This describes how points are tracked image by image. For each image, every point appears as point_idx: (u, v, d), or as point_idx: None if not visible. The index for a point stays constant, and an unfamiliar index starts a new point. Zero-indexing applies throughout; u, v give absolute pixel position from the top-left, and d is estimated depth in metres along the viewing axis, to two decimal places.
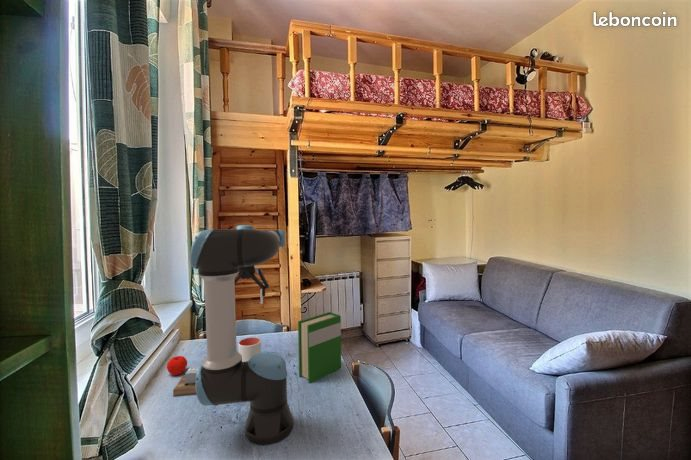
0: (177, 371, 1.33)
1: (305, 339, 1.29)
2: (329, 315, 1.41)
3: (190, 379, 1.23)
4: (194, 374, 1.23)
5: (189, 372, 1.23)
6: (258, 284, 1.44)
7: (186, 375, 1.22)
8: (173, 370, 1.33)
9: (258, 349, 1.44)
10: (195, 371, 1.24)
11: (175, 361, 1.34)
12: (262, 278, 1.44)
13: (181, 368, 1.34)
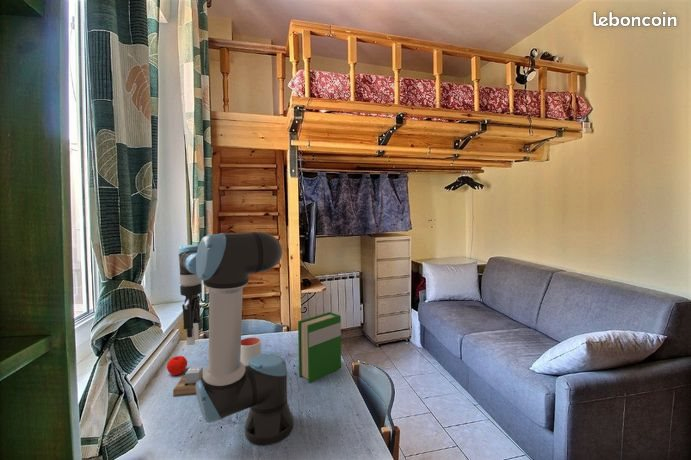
0: (177, 371, 1.33)
1: (305, 339, 1.29)
2: (329, 315, 1.41)
3: (190, 379, 1.23)
4: (194, 374, 1.23)
5: (189, 372, 1.23)
6: None
7: (186, 375, 1.22)
8: (173, 370, 1.33)
9: (258, 349, 1.44)
10: (195, 371, 1.24)
11: (175, 361, 1.34)
12: None
13: (181, 368, 1.34)
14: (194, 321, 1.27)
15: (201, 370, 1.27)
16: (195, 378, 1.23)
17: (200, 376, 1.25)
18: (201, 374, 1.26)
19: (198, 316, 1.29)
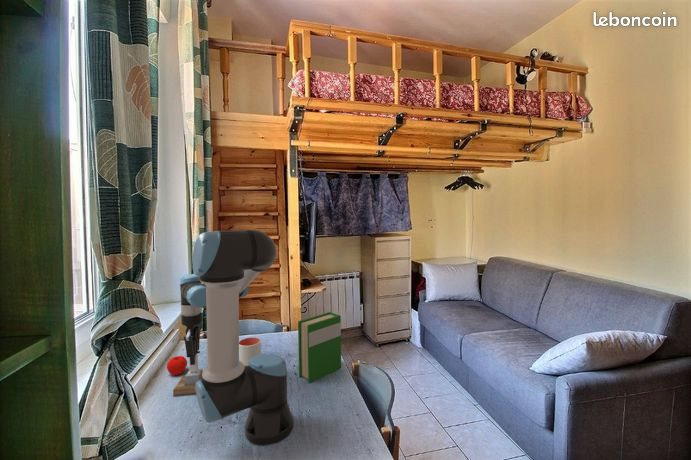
0: (177, 371, 1.33)
1: (305, 339, 1.29)
2: (329, 315, 1.41)
3: (190, 381, 1.23)
4: (194, 376, 1.23)
5: (189, 374, 1.23)
6: None
7: (186, 377, 1.22)
8: (173, 370, 1.33)
9: (258, 349, 1.44)
10: (195, 373, 1.24)
11: (175, 361, 1.34)
12: None
13: (181, 368, 1.34)
14: None
15: (201, 372, 1.27)
16: (195, 380, 1.23)
17: (200, 378, 1.25)
18: (201, 376, 1.27)
19: None
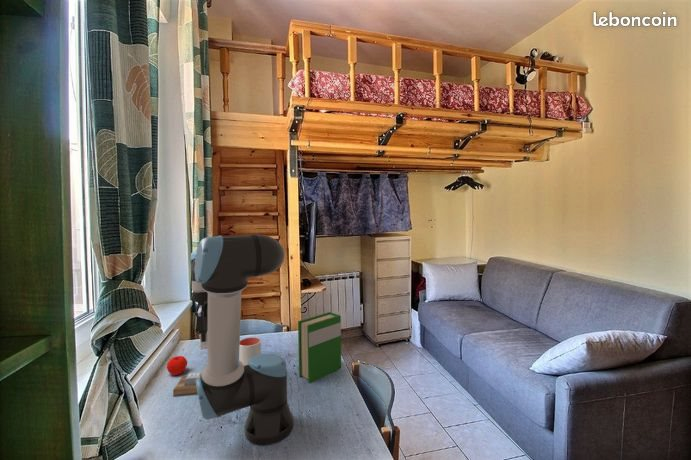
0: (177, 370, 1.33)
1: (305, 339, 1.29)
2: (329, 315, 1.41)
3: (190, 384, 1.23)
4: (194, 379, 1.23)
5: (189, 377, 1.23)
6: None
7: (186, 380, 1.23)
8: (173, 370, 1.33)
9: (258, 349, 1.44)
10: (195, 376, 1.24)
11: (175, 361, 1.34)
12: None
13: (181, 368, 1.34)
14: None
15: (201, 375, 1.27)
16: (195, 383, 1.23)
17: None
18: None
19: None
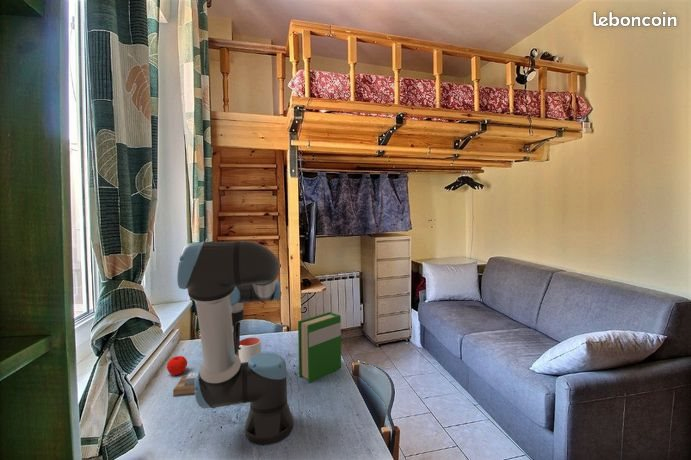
0: (177, 371, 1.33)
1: (305, 339, 1.29)
2: (329, 315, 1.41)
3: (190, 384, 1.23)
4: (194, 379, 1.23)
5: (189, 377, 1.23)
6: None
7: (186, 380, 1.23)
8: (173, 370, 1.33)
9: (258, 349, 1.44)
10: None
11: (175, 361, 1.34)
12: None
13: (181, 368, 1.34)
14: None
15: None
16: None
17: None
18: None
19: (238, 343, 1.30)
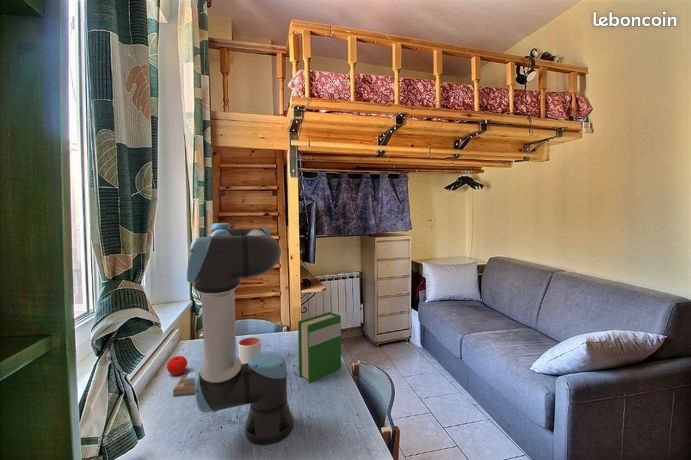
0: (177, 370, 1.33)
1: (305, 339, 1.29)
2: (329, 315, 1.41)
3: (190, 384, 1.23)
4: (194, 379, 1.23)
5: (189, 377, 1.23)
6: None
7: (186, 380, 1.23)
8: (173, 370, 1.33)
9: (258, 349, 1.44)
10: None
11: (175, 361, 1.34)
12: None
13: (181, 368, 1.34)
14: None
15: None
16: None
17: None
18: None
19: None
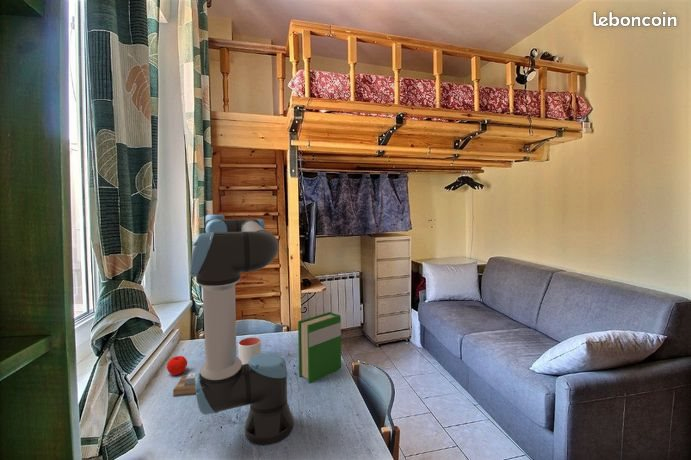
0: (177, 371, 1.33)
1: (305, 339, 1.29)
2: (329, 315, 1.41)
3: (190, 384, 1.23)
4: (194, 379, 1.23)
5: (189, 377, 1.23)
6: None
7: (186, 380, 1.23)
8: (173, 370, 1.33)
9: (258, 349, 1.44)
10: None
11: (175, 361, 1.34)
12: None
13: (181, 368, 1.34)
14: None
15: None
16: None
17: None
18: None
19: None
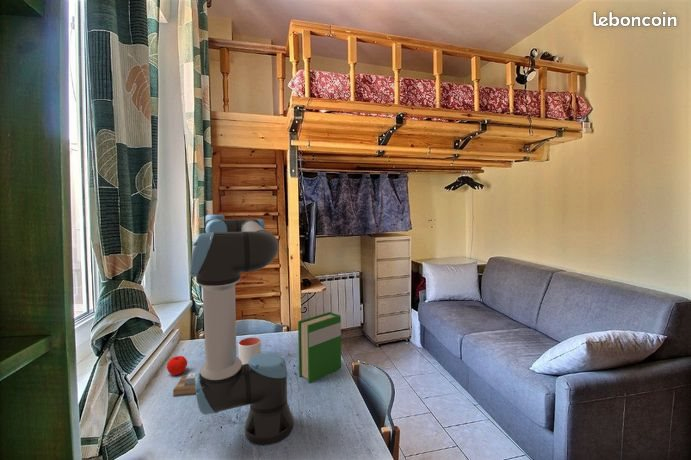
0: (177, 371, 1.33)
1: (305, 339, 1.29)
2: (329, 315, 1.41)
3: (190, 384, 1.23)
4: (194, 379, 1.23)
5: (189, 377, 1.23)
6: None
7: (186, 380, 1.23)
8: (173, 370, 1.33)
9: (258, 349, 1.44)
10: None
11: (175, 361, 1.34)
12: None
13: (181, 368, 1.34)
14: None
15: None
16: None
17: None
18: None
19: None
